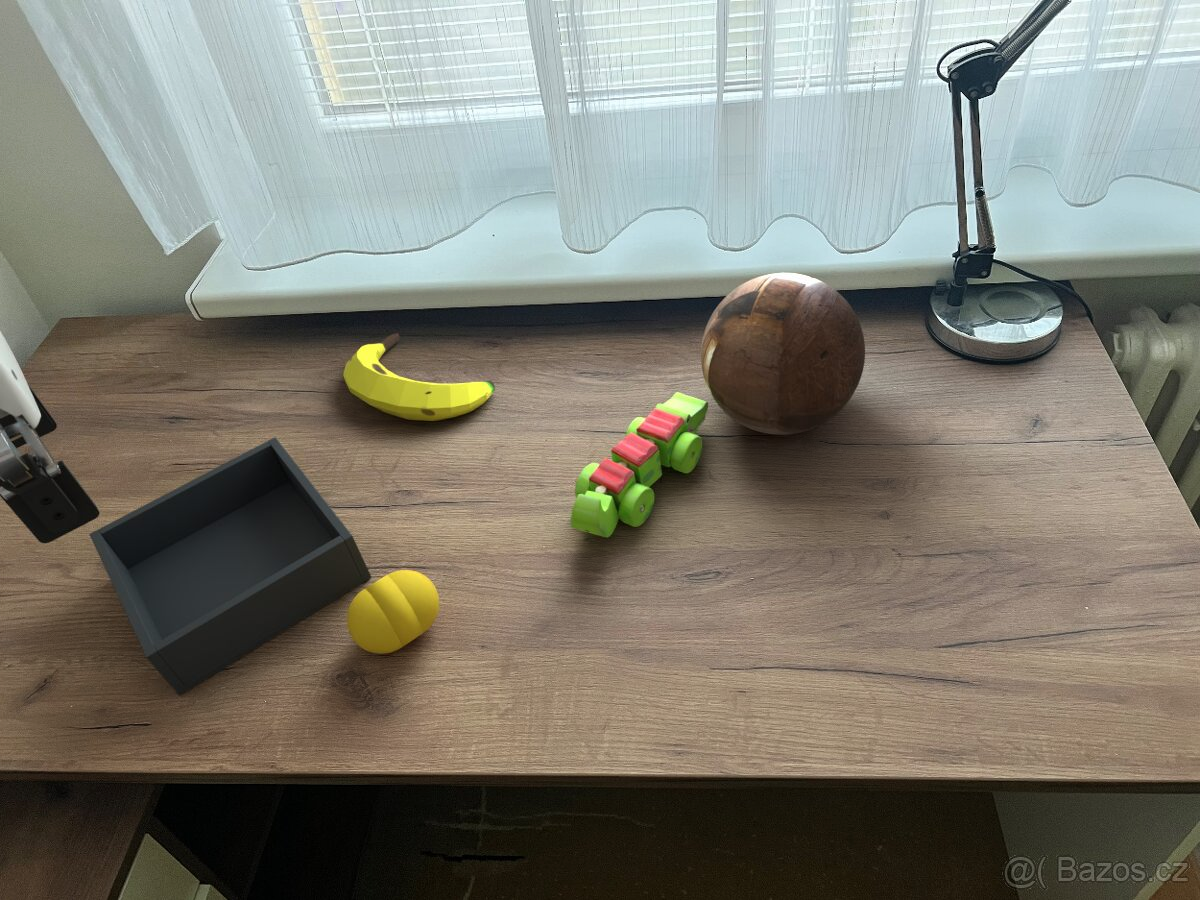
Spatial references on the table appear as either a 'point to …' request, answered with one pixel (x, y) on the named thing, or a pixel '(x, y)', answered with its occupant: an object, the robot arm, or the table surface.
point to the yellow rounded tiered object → (393, 611)
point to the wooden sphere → (782, 353)
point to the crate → (227, 563)
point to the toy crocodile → (638, 466)
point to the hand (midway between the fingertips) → (50, 480)
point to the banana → (409, 388)
